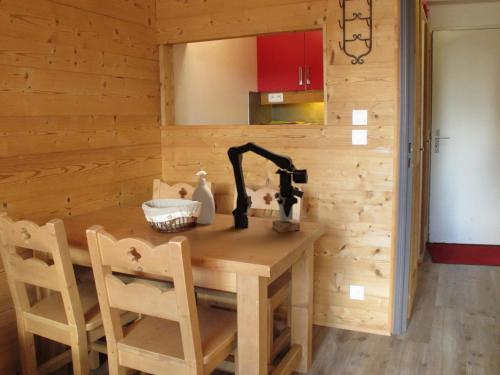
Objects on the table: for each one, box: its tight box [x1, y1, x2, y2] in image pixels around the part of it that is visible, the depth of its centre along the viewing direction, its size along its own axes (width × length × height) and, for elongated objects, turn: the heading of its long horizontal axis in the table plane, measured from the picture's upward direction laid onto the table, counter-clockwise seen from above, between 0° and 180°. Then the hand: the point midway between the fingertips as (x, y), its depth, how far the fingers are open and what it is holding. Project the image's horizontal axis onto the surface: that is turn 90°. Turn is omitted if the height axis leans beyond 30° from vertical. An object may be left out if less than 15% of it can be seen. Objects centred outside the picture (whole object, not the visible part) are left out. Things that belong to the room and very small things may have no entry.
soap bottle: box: [191, 170, 216, 225], centre depth 252 cm, size 14×8×27 cm, turn 56°
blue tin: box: [278, 204, 294, 220], centre depth 237 cm, size 5×5×7 cm
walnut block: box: [272, 219, 301, 233], centre depth 238 cm, size 10×10×4 cm
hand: (285, 215), depth 237 cm, fingers closed on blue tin, 5 cm apart
